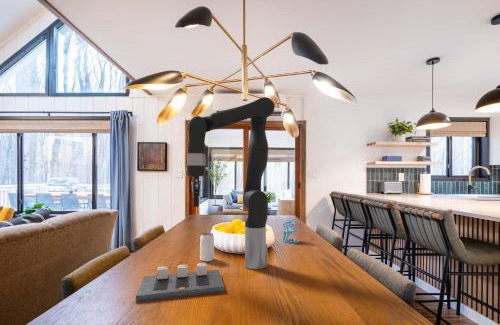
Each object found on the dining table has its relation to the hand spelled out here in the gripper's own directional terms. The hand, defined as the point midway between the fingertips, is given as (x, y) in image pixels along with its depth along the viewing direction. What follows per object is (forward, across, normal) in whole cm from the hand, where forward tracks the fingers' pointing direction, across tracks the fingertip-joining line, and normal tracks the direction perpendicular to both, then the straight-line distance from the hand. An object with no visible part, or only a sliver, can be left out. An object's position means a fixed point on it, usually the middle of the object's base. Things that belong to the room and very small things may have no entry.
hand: (196, 206), depth 105 cm
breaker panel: (+27, -12, +5) cm, 30 cm away
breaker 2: (+25, -8, -2) cm, 26 cm away
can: (+27, +16, -6) cm, 32 cm away
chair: (+27, +37, -57) cm, 73 cm away
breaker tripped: (+25, -8, +5) cm, 26 cm away
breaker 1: (+24, -8, +12) cm, 28 cm away
